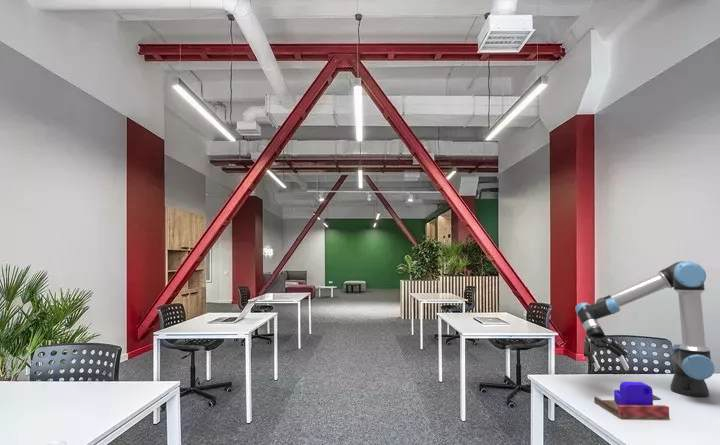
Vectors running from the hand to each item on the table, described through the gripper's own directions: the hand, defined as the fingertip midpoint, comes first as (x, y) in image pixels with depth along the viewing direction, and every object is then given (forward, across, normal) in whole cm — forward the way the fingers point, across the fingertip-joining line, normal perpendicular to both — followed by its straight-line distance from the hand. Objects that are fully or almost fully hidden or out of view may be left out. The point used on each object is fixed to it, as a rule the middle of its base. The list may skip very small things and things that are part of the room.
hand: (612, 369), depth 198 cm
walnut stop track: (+18, 0, -2) cm, 19 cm away
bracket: (+16, 0, -3) cm, 17 cm away
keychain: (+3, -19, -19) cm, 27 cm away
